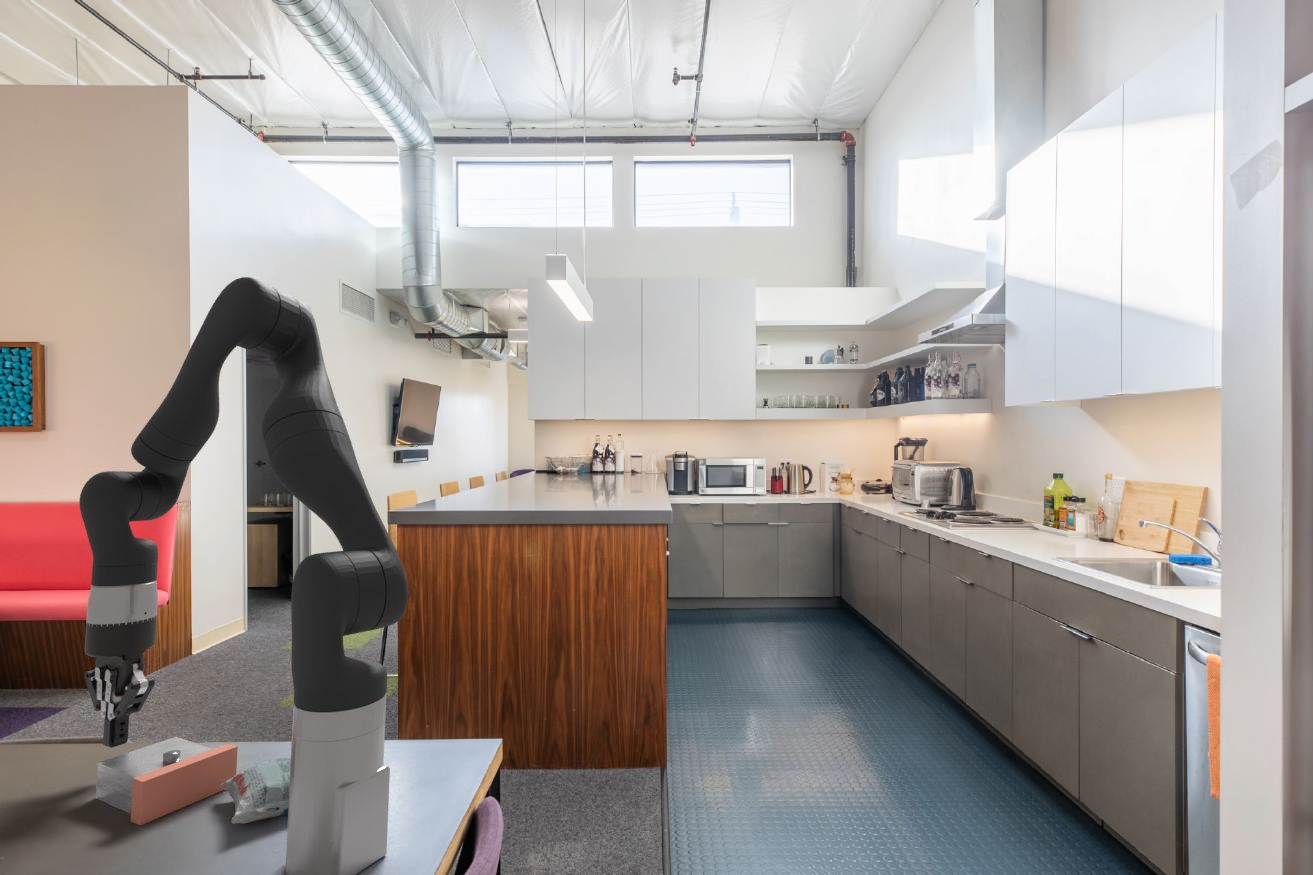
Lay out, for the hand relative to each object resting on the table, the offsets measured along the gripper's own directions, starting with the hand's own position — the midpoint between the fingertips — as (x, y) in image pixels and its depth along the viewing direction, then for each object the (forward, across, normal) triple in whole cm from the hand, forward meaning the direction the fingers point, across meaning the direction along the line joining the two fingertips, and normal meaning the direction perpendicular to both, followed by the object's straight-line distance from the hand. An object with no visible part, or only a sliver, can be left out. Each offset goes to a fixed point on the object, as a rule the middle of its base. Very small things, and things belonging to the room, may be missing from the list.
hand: (115, 744), depth 87 cm
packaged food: (+5, -26, -4) cm, 27 cm away
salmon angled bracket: (+4, -11, 0) cm, 12 cm away
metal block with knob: (+4, -10, 0) cm, 11 cm away
